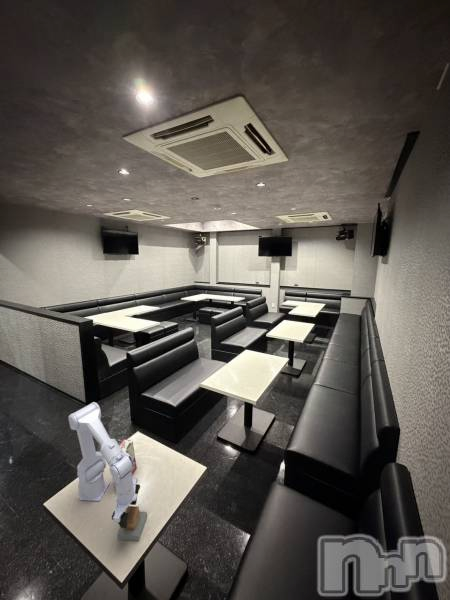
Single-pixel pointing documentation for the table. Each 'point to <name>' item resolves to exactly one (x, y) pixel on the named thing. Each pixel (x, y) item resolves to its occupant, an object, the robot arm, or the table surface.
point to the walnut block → (132, 517)
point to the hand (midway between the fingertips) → (128, 514)
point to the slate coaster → (133, 534)
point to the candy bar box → (128, 448)
